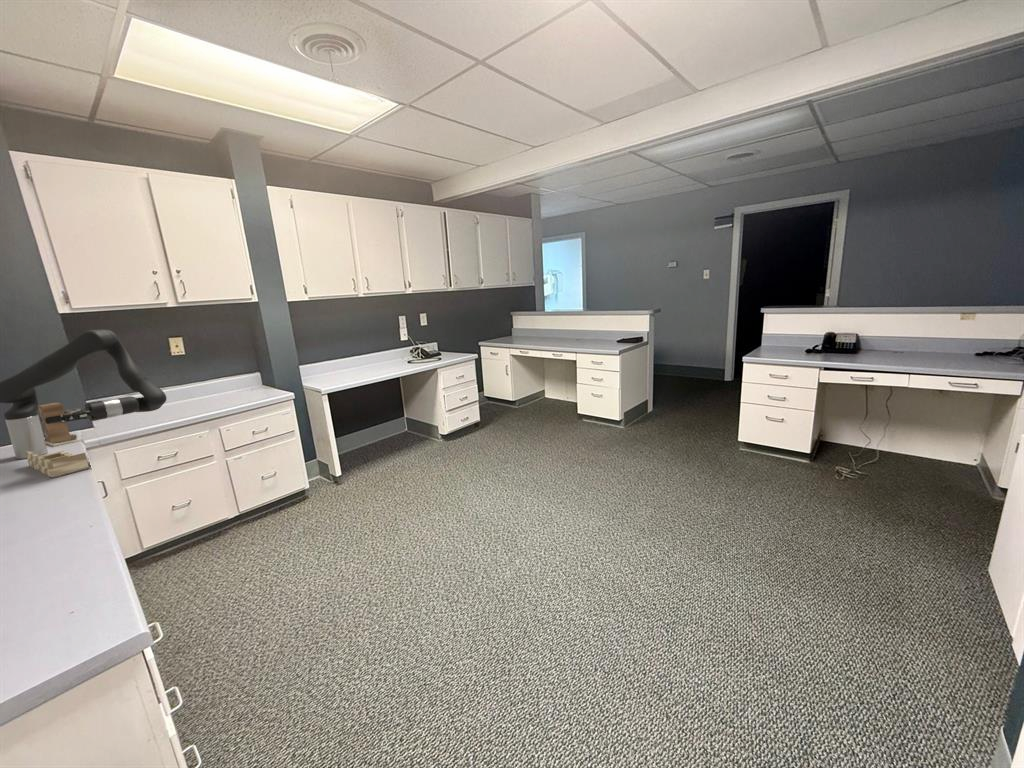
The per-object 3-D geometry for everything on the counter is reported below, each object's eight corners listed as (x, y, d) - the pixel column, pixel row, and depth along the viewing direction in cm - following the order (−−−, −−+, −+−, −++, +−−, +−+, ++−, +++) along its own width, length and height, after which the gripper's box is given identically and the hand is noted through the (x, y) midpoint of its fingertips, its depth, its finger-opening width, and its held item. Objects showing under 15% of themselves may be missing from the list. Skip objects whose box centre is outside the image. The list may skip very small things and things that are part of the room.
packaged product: (37, 434, 199) (66, 428, 208) (40, 443, 200) (68, 437, 209) (51, 438, 191) (80, 431, 200) (54, 448, 192) (83, 441, 201)
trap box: (29, 466, 166) (25, 451, 165) (64, 458, 175) (61, 443, 173) (52, 478, 152) (47, 461, 151) (89, 468, 161) (85, 453, 160)
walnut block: (47, 441, 156) (37, 405, 153) (66, 437, 160) (57, 402, 158) (52, 443, 153) (42, 406, 151) (70, 439, 158) (61, 403, 155)
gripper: (95, 399, 170) (34, 408, 156) (109, 401, 163) (46, 412, 149) (99, 416, 172) (39, 428, 157) (113, 420, 165) (51, 432, 150)
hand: (43, 420), depth 153 cm, fingers closed on walnut block, 5 cm apart
